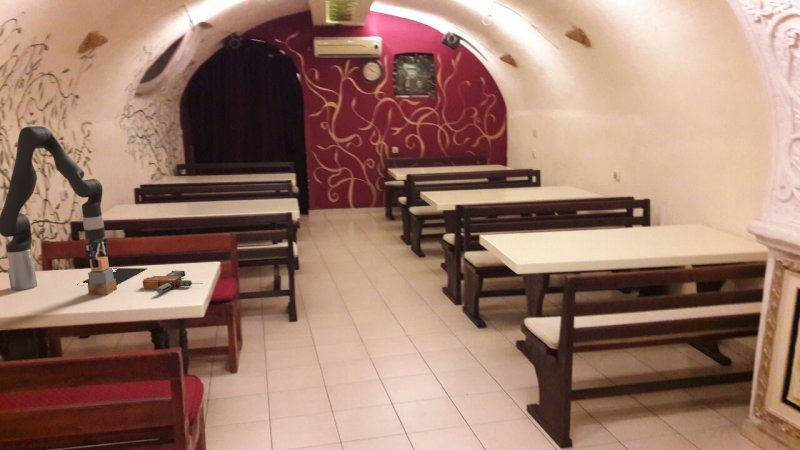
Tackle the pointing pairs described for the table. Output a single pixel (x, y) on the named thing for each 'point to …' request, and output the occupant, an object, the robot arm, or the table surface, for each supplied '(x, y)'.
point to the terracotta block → (100, 264)
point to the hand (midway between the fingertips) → (99, 265)
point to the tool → (166, 281)
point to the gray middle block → (101, 276)
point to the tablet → (123, 274)
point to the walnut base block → (102, 288)
